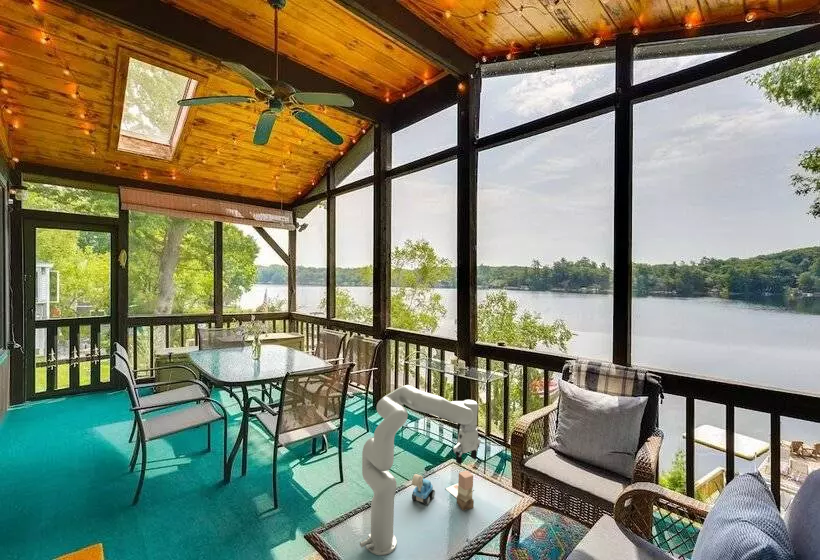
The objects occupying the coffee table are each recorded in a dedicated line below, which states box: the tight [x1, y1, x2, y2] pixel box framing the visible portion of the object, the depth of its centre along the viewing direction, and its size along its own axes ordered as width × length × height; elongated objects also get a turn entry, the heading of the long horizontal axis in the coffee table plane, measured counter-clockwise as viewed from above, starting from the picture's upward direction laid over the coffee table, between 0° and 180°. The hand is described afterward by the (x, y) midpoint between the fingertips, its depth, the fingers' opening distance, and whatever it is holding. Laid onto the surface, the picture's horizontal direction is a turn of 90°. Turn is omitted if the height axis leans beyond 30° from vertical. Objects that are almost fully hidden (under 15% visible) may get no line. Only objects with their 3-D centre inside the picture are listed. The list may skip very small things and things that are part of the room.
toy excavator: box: [411, 473, 436, 506], centre depth 186 cm, size 9×17×17 cm, turn 152°
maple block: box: [458, 485, 474, 502], centre depth 185 cm, size 5×5×6 cm
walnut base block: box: [456, 495, 475, 511], centre depth 185 cm, size 6×6×4 cm
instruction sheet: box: [445, 482, 474, 499], centre depth 198 cm, size 12×9×1 cm
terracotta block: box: [457, 470, 474, 490], centre depth 185 cm, size 5×5×6 cm
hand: (466, 460), depth 183 cm, fingers open, 9 cm apart
